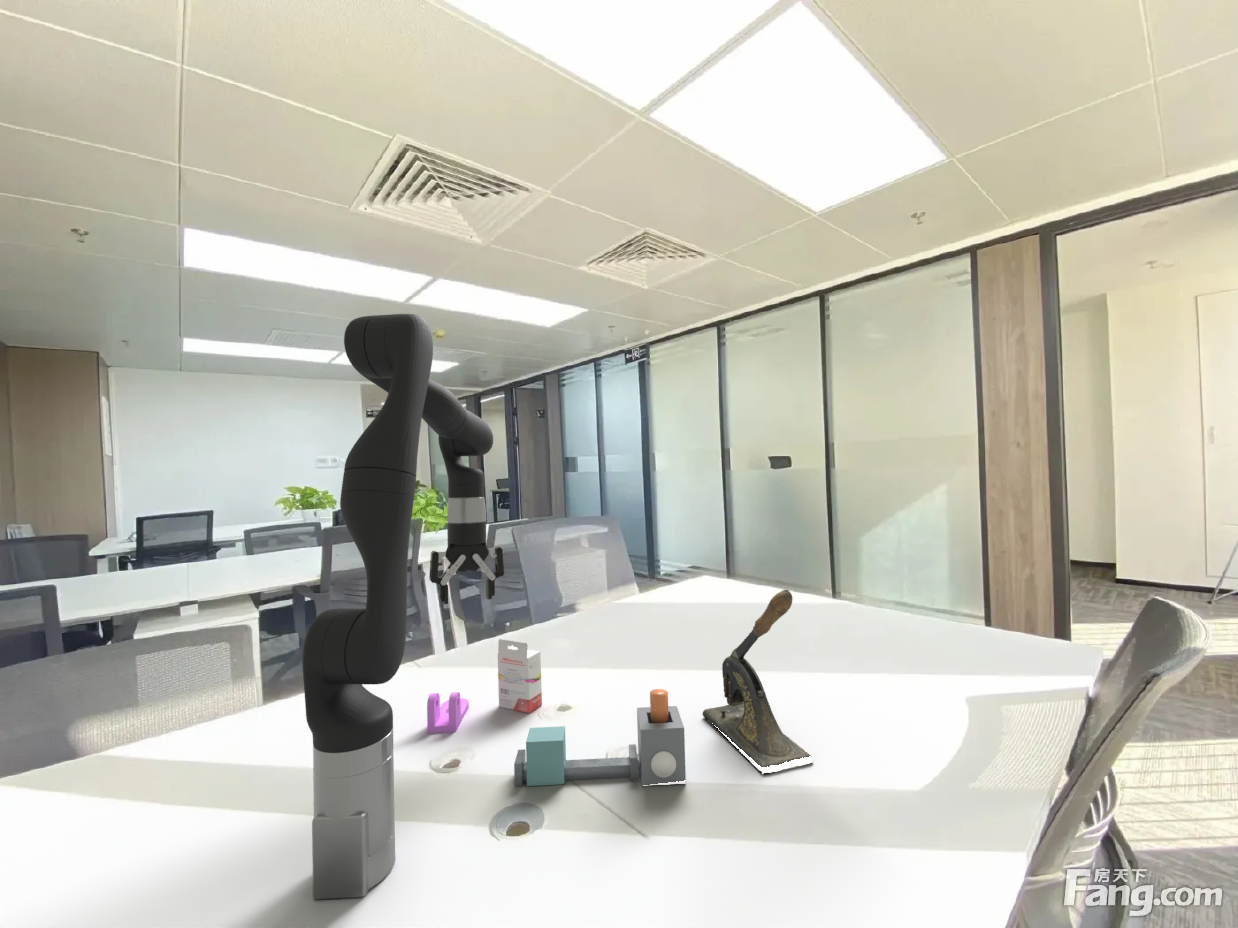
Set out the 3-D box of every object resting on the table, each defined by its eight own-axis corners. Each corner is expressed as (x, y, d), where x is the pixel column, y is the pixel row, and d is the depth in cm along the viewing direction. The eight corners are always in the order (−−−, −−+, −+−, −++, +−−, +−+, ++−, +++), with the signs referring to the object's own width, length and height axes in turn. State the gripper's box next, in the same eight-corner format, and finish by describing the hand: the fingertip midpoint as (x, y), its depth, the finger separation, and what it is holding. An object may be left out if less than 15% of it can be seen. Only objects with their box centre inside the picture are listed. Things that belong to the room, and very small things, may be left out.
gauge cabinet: (686, 785, 84) (684, 728, 84) (642, 788, 83) (640, 730, 84) (678, 757, 92) (676, 705, 92) (638, 759, 92) (636, 707, 92)
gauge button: (669, 722, 87) (668, 695, 87) (651, 723, 87) (650, 696, 87) (667, 714, 90) (666, 688, 90) (649, 715, 90) (649, 689, 90)
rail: (638, 780, 86) (637, 757, 86) (514, 786, 85) (514, 763, 85) (636, 765, 90) (635, 744, 90) (518, 771, 89) (518, 749, 89)
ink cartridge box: (543, 704, 115) (541, 637, 115) (529, 714, 111) (527, 643, 111) (512, 698, 119) (510, 632, 119) (497, 706, 115) (496, 638, 115)
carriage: (564, 783, 85) (563, 740, 85) (526, 785, 85) (525, 741, 85) (566, 767, 90) (565, 726, 90) (530, 769, 89) (529, 727, 90)
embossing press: (748, 709, 110) (744, 566, 111) (819, 768, 88) (813, 588, 88) (700, 716, 108) (696, 569, 108) (761, 780, 85) (755, 594, 85)
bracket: (456, 732, 104) (455, 696, 104) (427, 733, 104) (426, 698, 104) (471, 703, 117) (470, 672, 117) (445, 705, 117) (445, 673, 117)
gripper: (432, 522, 100) (432, 609, 99) (506, 519, 106) (507, 600, 105) (427, 521, 106) (427, 601, 106) (497, 517, 113) (498, 593, 112)
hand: (467, 601), depth 105 cm, fingers open, 8 cm apart
